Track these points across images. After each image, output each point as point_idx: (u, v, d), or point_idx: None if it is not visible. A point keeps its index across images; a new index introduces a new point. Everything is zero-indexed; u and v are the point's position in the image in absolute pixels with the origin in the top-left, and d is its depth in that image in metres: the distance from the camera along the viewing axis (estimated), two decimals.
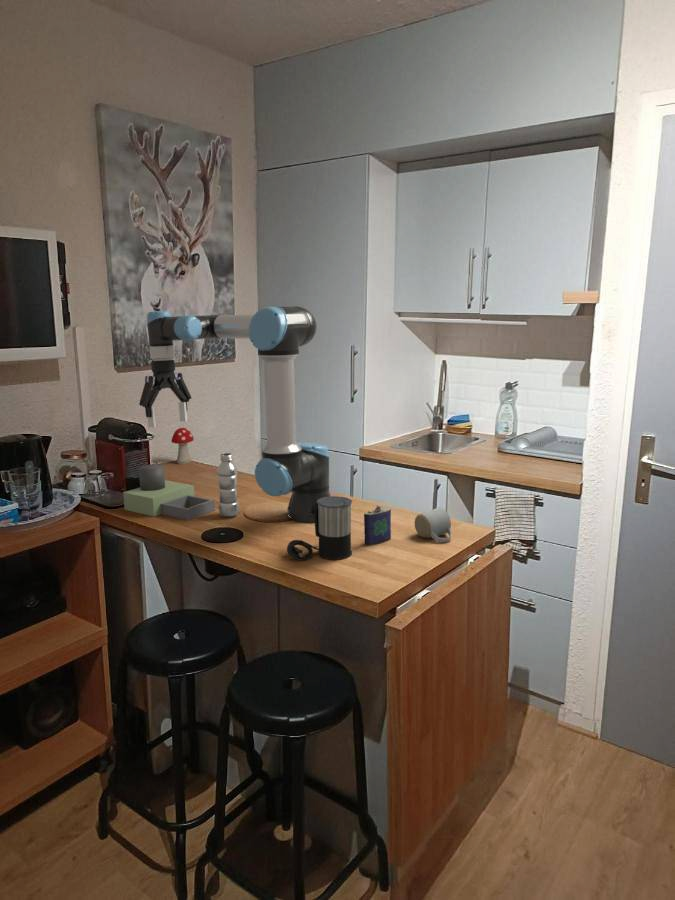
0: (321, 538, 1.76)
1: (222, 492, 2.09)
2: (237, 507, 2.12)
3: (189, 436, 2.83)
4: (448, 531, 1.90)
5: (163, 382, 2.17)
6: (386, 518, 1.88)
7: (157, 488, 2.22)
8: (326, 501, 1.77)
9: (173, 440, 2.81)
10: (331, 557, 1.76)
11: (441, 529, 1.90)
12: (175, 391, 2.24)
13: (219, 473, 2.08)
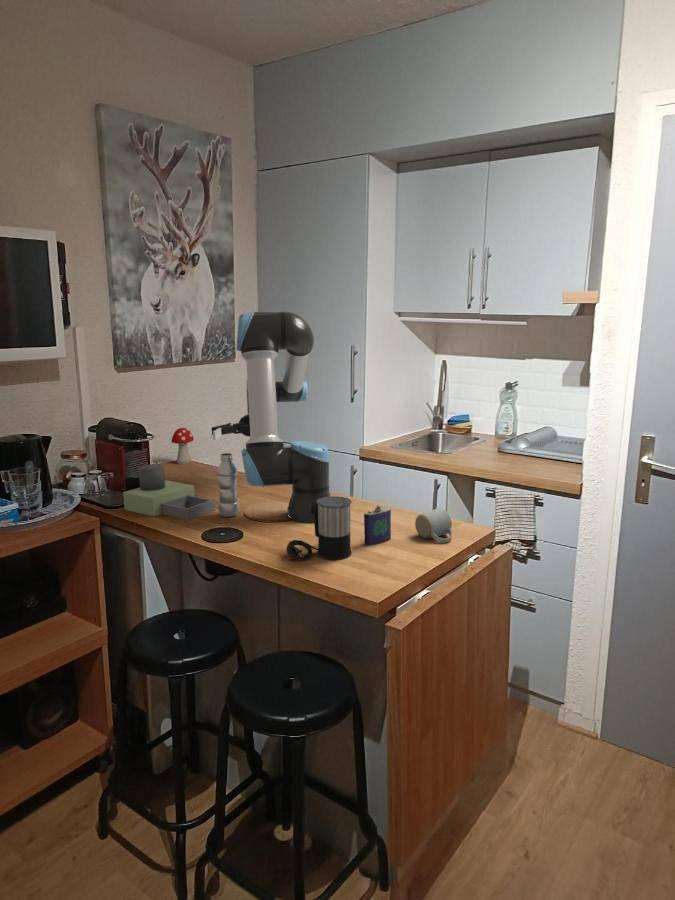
0: (321, 538, 1.76)
1: (222, 492, 2.09)
2: (237, 507, 2.12)
3: (189, 436, 2.83)
4: (449, 531, 1.90)
5: (239, 422, 2.31)
6: (386, 518, 1.88)
7: (157, 488, 2.22)
8: (326, 501, 1.76)
9: (173, 440, 2.81)
10: (330, 557, 1.76)
11: (442, 529, 1.89)
12: None
13: (219, 473, 2.08)
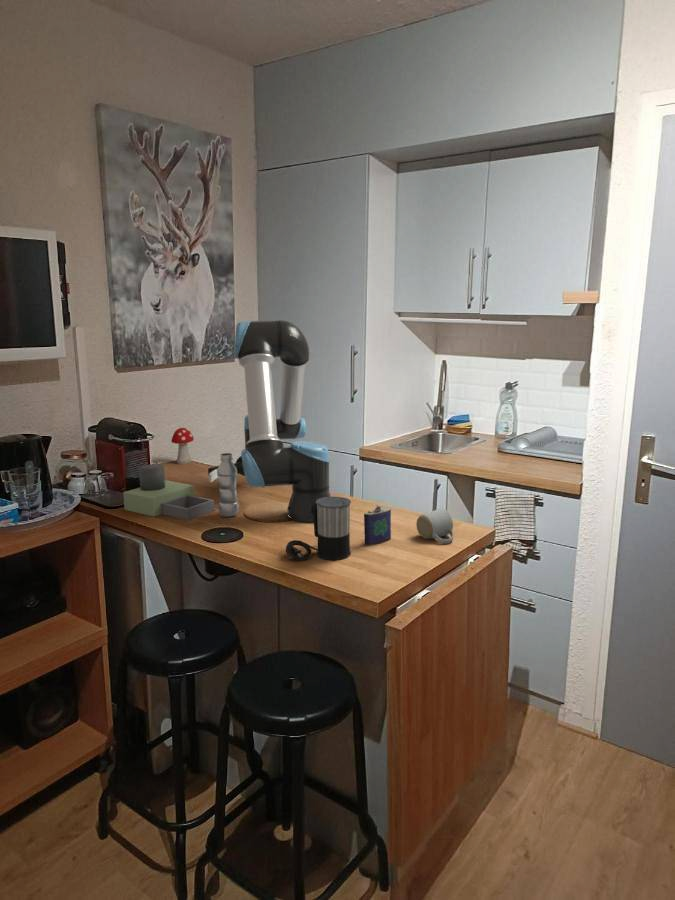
0: (320, 538, 1.76)
1: (222, 492, 2.09)
2: (237, 507, 2.12)
3: (189, 436, 2.83)
4: (450, 532, 1.90)
5: (236, 463, 2.29)
6: (386, 518, 1.88)
7: (157, 488, 2.22)
8: (325, 501, 1.76)
9: (173, 440, 2.81)
10: (329, 558, 1.75)
11: (443, 530, 1.89)
12: None
13: (219, 473, 2.08)
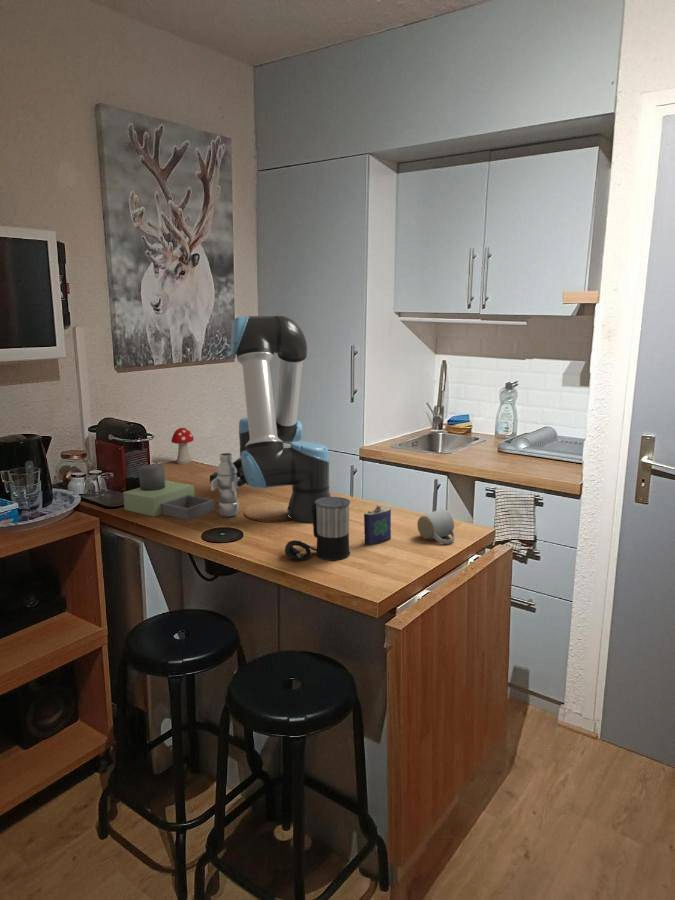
0: (319, 538, 1.76)
1: (222, 492, 2.09)
2: (237, 507, 2.12)
3: (189, 436, 2.83)
4: (451, 532, 1.89)
5: None
6: (386, 518, 1.88)
7: (157, 488, 2.22)
8: (324, 502, 1.76)
9: (173, 440, 2.81)
10: (329, 558, 1.75)
11: (444, 531, 1.88)
12: None
13: (219, 473, 2.08)
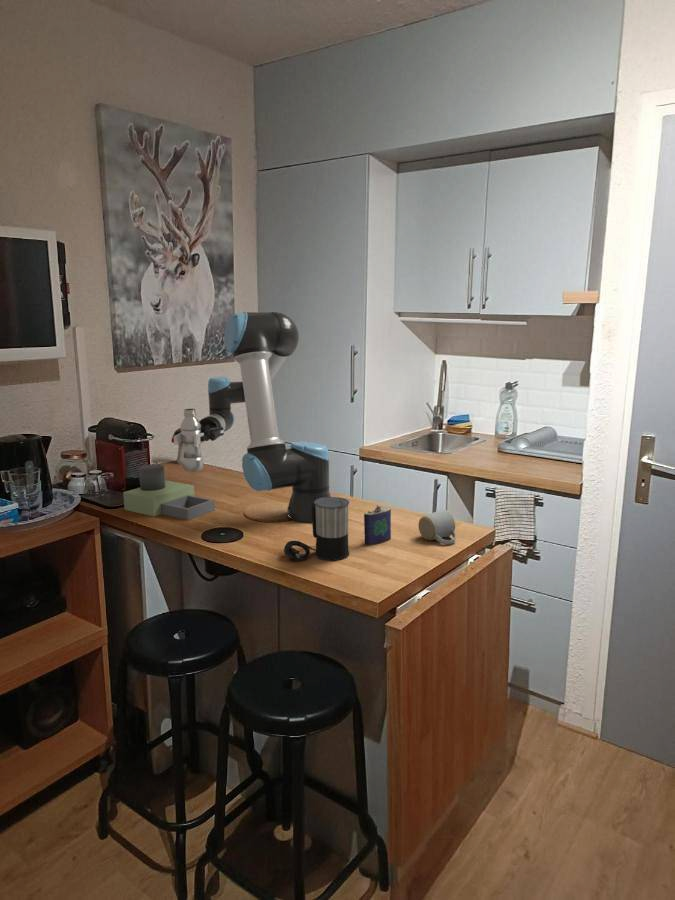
0: (318, 539, 1.76)
1: (186, 447, 2.11)
2: (201, 462, 2.13)
3: None
4: (452, 533, 1.89)
5: None
6: (386, 518, 1.88)
7: (157, 488, 2.22)
8: (324, 502, 1.76)
9: (173, 440, 2.81)
10: (328, 558, 1.75)
11: (445, 531, 1.88)
12: None
13: (182, 428, 2.10)
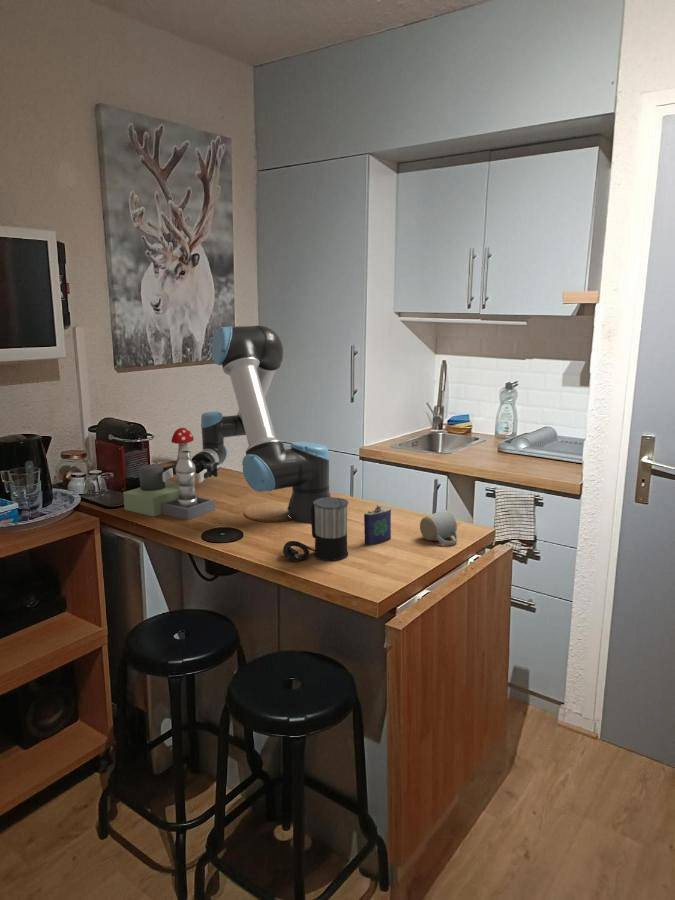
0: (317, 539, 1.76)
1: (181, 489, 2.13)
2: (195, 504, 2.16)
3: (189, 436, 2.83)
4: (454, 534, 1.88)
5: None
6: (386, 518, 1.88)
7: (157, 488, 2.22)
8: (323, 502, 1.76)
9: (173, 440, 2.81)
10: (327, 558, 1.75)
11: (447, 532, 1.87)
12: (204, 469, 2.21)
13: (177, 470, 2.12)
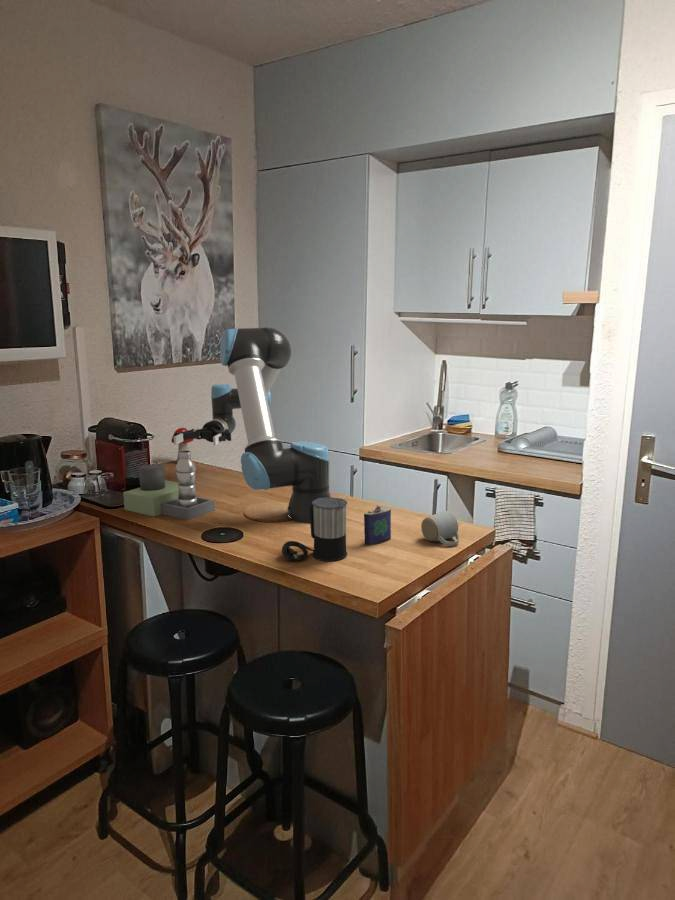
0: (316, 539, 1.75)
1: (181, 489, 2.14)
2: (195, 503, 2.16)
3: None
4: (455, 534, 1.88)
5: (202, 428, 2.37)
6: (386, 518, 1.88)
7: (157, 488, 2.22)
8: (322, 502, 1.76)
9: (173, 440, 2.81)
10: (326, 559, 1.75)
11: (448, 532, 1.87)
12: (216, 435, 2.33)
13: (177, 470, 2.12)
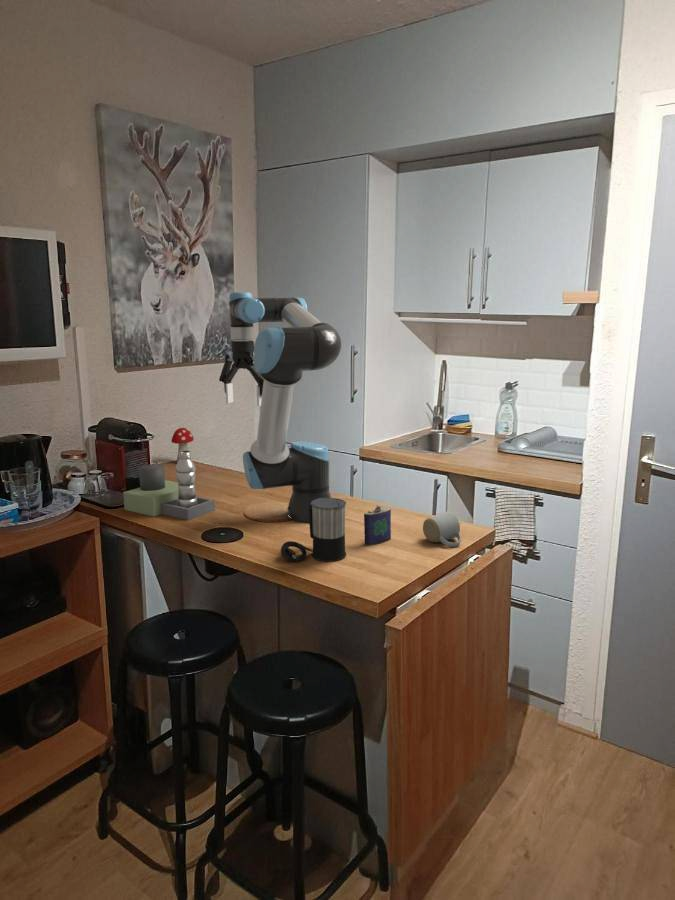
0: (315, 540, 1.75)
1: (180, 489, 2.14)
2: (195, 503, 2.16)
3: (189, 436, 2.83)
4: (457, 535, 1.87)
5: (235, 362, 2.23)
6: (386, 518, 1.88)
7: (157, 488, 2.22)
8: (320, 502, 1.75)
9: (173, 440, 2.81)
10: (324, 559, 1.74)
11: (450, 533, 1.86)
12: None
13: (177, 470, 2.12)
